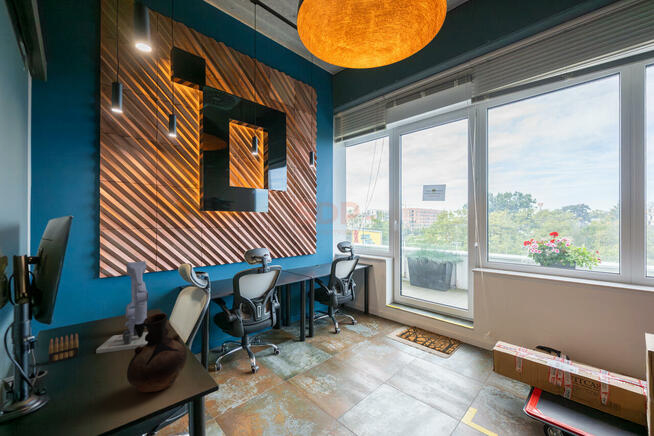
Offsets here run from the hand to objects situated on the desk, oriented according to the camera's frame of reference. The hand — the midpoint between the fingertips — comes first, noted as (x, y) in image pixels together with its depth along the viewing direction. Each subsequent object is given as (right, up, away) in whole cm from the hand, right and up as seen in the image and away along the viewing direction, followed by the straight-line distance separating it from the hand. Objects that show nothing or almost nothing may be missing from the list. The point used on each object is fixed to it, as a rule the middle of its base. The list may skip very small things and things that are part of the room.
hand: (140, 336), depth 150 cm
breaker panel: (-6, -3, -2) cm, 6 cm away
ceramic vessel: (+38, -2, -42) cm, 57 cm away
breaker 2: (-5, -1, +5) cm, 7 cm away
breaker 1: (-2, -1, -7) cm, 7 cm away
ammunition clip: (-24, -3, -20) cm, 31 cm away
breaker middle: (-7, -1, -2) cm, 7 cm away
